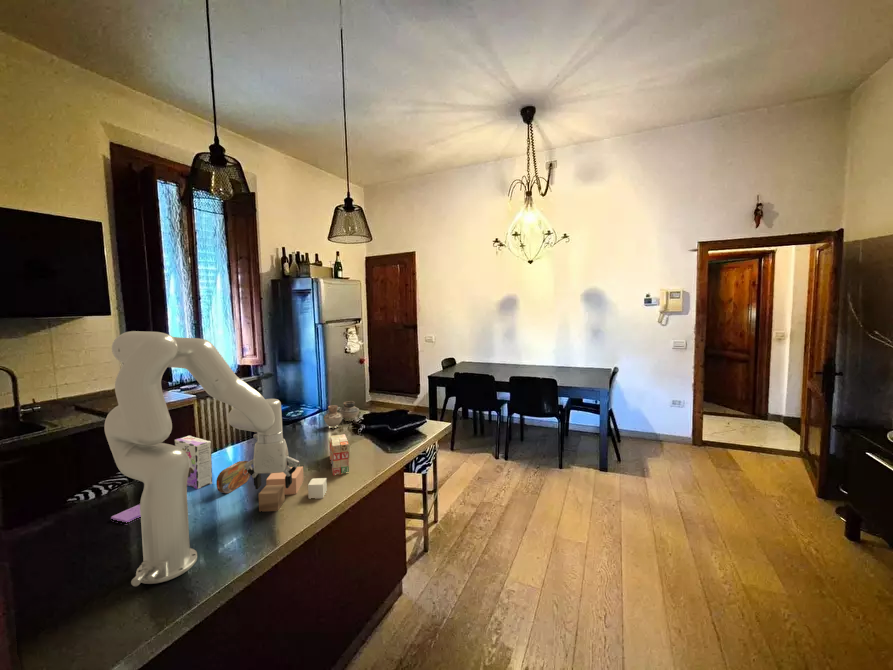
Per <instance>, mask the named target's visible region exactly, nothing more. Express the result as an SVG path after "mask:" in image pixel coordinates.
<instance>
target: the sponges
mask: <svg viewBox="0 0 893 670" xmlns="http://www.w3.org/2000/svg"><path fill="white" fill-rule="evenodd" d="M139 517H141V515H140V503H139V504H137V505H134V506H133V507H130V508H127V509H125V510H123V511H121V512H119V513H117V514H114V515H112V516H110V520H111V519H113V520H117V521H122V522H126V523H127V522H130V521H132V520H134V519H136V518H139ZM139 519H140V518H139Z"/></svg>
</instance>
